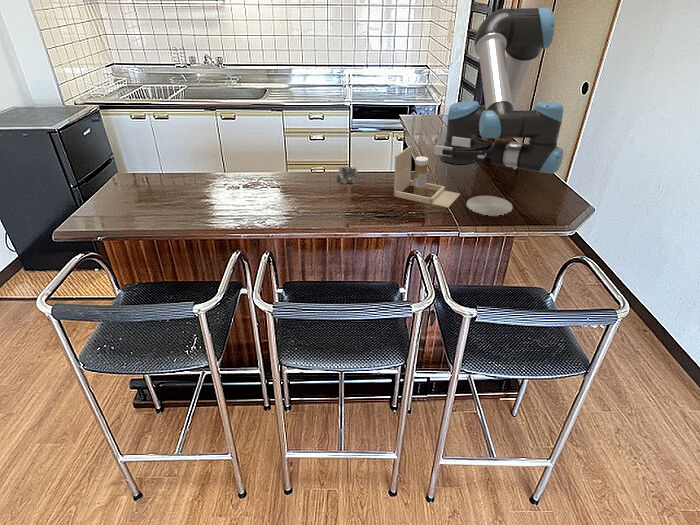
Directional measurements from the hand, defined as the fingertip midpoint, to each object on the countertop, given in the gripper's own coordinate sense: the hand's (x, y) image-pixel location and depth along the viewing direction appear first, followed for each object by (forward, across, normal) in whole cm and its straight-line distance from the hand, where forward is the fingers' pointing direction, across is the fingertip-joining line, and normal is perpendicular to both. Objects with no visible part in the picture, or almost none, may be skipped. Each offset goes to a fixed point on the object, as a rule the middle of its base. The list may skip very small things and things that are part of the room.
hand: (443, 145), depth 146 cm
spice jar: (+8, 0, -19) cm, 21 cm away
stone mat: (-17, +4, -20) cm, 26 cm away
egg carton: (+39, -2, -18) cm, 43 cm away
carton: (+5, 0, -19) cm, 20 cm away
